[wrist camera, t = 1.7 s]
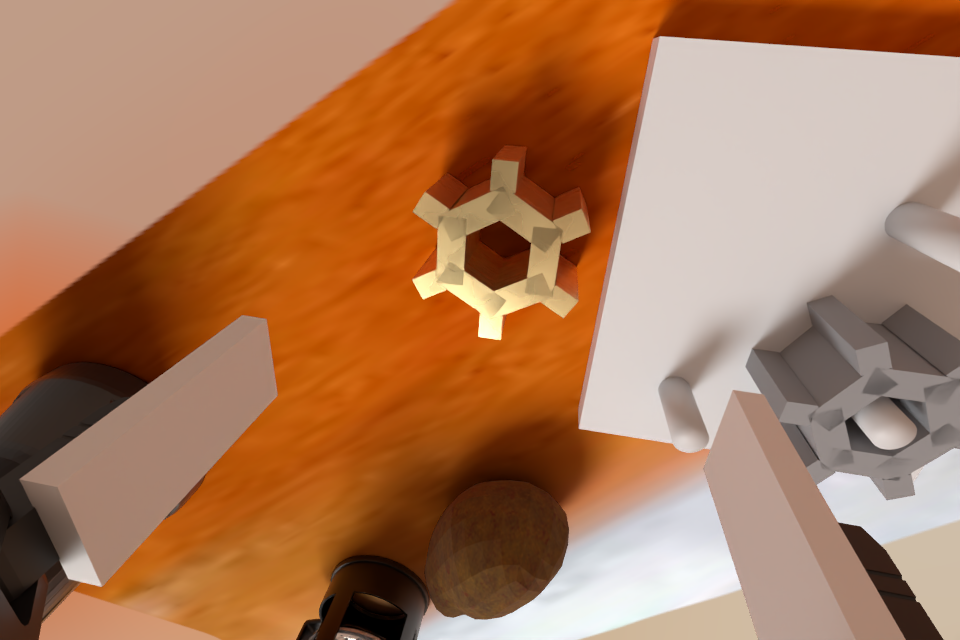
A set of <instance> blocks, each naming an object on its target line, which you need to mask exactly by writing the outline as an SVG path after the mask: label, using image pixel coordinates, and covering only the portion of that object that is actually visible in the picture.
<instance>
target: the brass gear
mask: <svg viewBox="0 0 960 640" xmlns="http://www.w3.org/2000/svg"><path fill="white" fill-rule="evenodd" d="M526 152H527V147H523V146H512V145H504V146H503V148H502V149H501V150H500V151H499V152H498V153H497V154H496V156H495V157H494V158H493V159H492V170H491V178H490V179H488V180H486V181H484V182H482V183H480V184H477V185H475V186H473V187H471V188H469V189H467V188H468V187H467V186H465V185H464V184H463V183H461V182H460V181H459V180H457V179H456V178H454V177H453V176H452V175H450V174H449V173H447V174H446V175H444V176H443V177H442V178H441V179H440V180H438V181H437V182H436V183H435V184H434V185H432V186H431V187H430V188H429V189H428V190H426V191H425V193H424V194H423V196H422V197H421V199H420V201H419V202H418V204H417V206H416V207H415V209H414V210H413V213H415V214H416V215H418V216H419V217H420V218H422V219H423V220H425V221H426V222H428V223H429V224H430V225H432V226H433V227H435V228H436V229H437V228H438V243H437V248H436V249H435V250H434V251H433V252H432V254H431V255H430V256H429V258H428V259H427V260H426V262H425V263H424V264H423V266H422V267H421V268H420V270H419V271H418V272H417V274H416V275H415V276H414V278H413V279H412V280H413V282H414V284H415V286H416V288H417V289H418V291H419V293H420V295H421V297H422V298H423V299H425V298H428V297H430V296H433V295H435V294H438V293H440V292H443V291H445V290H446V289H447V290H449V291H450V292H452V293H453V294H455V295H456V296H457V297H459V298H460V299H462V300H463V301H465V302H466V303H468V304H469V305H471V306H472V307H473V308H475V309H476V310H478V311H479V312H481V313H480V322H479V334H478V337H483V338H490V339H497V340H501V336H502V332H503V328H504V324H505V320H506V316H507V314H508V313H510V312H513V311H516V310H519V309H521V308H524V307H527V306H530V305H532V304H535V303H538V302H541V303H543V304H544V305H545V306H547V307H548V308H550V309H551V310H553V311H554V312H555V313H557V314H558V315H560V316H561V317H562V318H564V317H565V316H566V315H567V313H568V312H569V311H570V310H571V309H572V308H573V307H574V306H575V305H576V303H577V302H578V280H577V266H576V265H574V264H573V263H572V262H570V261H569V260H567V259H566V258H565V257H563V256H562V255H561V254H559V253H560V247H561V241H562V244H563V243H565V242H568V241H570V240H573V239H575V238H578V237H580V236H583V235H585V234H588V233H590V232H591V230H590V223H589V216H588V209H587V205H586V202H585V200H584V197H583V194H582V192H581V189H580V187H577V188H574V189H572V190H570V191H568V192H565V193H563V194H561V195H558V196H556V197H555V198H554V197H553V196H551V195H550V194H549V193H547V192H546V191H545V190H543V189H542V188H541V187H539V186H538V185H537V184H535V183H534V182H533V181H531V180H530V179H529V178H527V177H526V176H525V175H524V170H525V161H526ZM498 221H501V222H503V223H504V224H506V225H507V226H508V227H510V228H511V229H512V230H514V231H515V232H517V233H518V234H519V235H521V236H522V237H524V238H525V239H526V240H528V241H529V242H530V243H531V248H530V249H527V250H525V251H522V252H520V253H517V254H515V255H512V256H510V257H508V258H503V257H502V256H500V255H499V254H498V253H496V252H495V251H493V250H492V249H491V248H489V247H488V246H486V245H485V244H483V243H482V242H481V241H480V229H482V228H484V227H486V226H489V225H491V224H493V223H496V222H498Z"/></svg>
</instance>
